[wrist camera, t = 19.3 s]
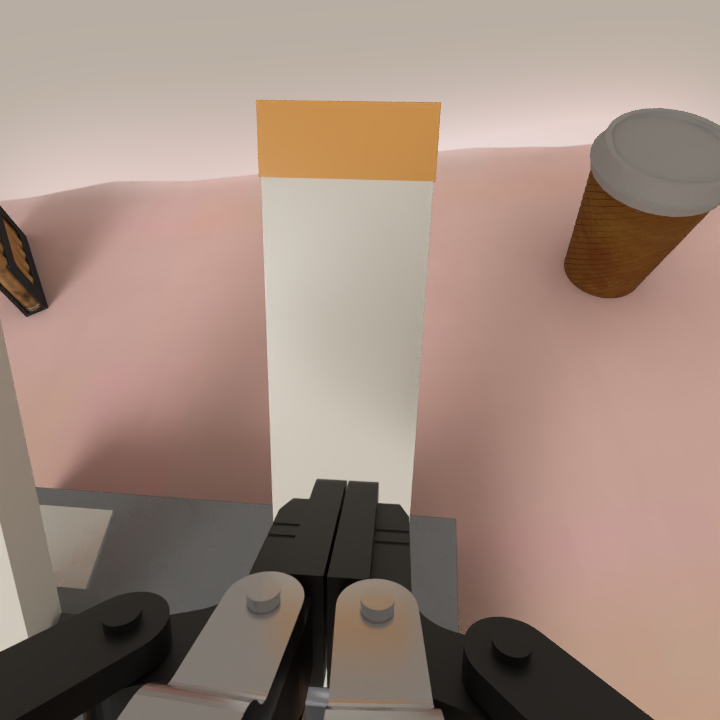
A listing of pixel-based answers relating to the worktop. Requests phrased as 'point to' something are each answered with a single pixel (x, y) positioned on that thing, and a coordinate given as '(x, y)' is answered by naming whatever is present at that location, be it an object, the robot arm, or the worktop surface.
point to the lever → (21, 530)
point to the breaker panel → (199, 552)
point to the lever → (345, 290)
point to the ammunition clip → (18, 269)
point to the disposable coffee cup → (642, 197)
